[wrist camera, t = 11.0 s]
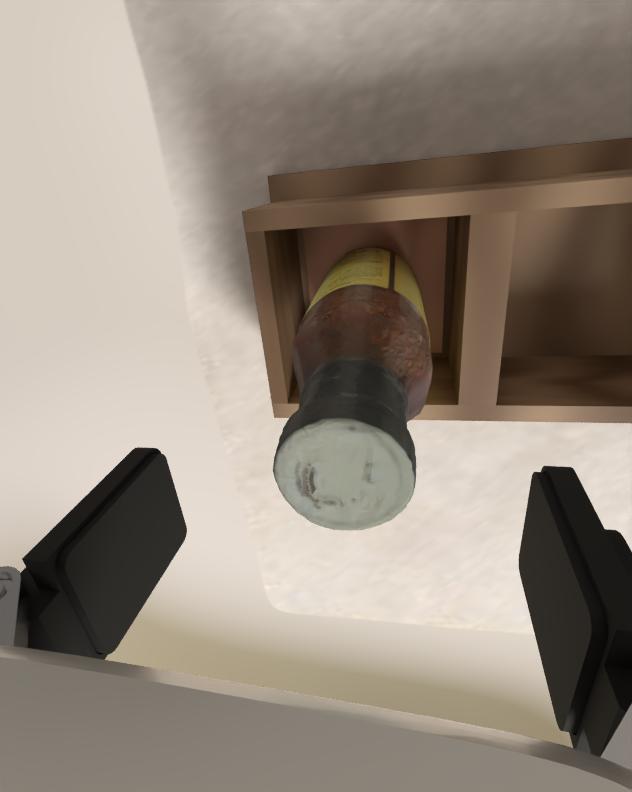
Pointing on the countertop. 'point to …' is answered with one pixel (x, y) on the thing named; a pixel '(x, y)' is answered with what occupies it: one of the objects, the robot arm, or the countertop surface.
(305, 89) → the countertop surface
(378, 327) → the sauce bottle
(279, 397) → the caddy
